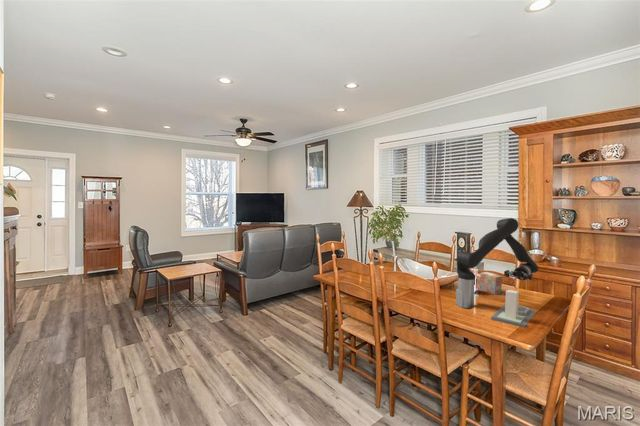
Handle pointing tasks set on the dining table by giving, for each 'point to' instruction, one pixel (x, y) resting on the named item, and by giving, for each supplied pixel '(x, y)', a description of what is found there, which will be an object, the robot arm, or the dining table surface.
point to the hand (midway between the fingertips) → (515, 277)
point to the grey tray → (520, 321)
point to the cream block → (511, 304)
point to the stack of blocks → (489, 282)
